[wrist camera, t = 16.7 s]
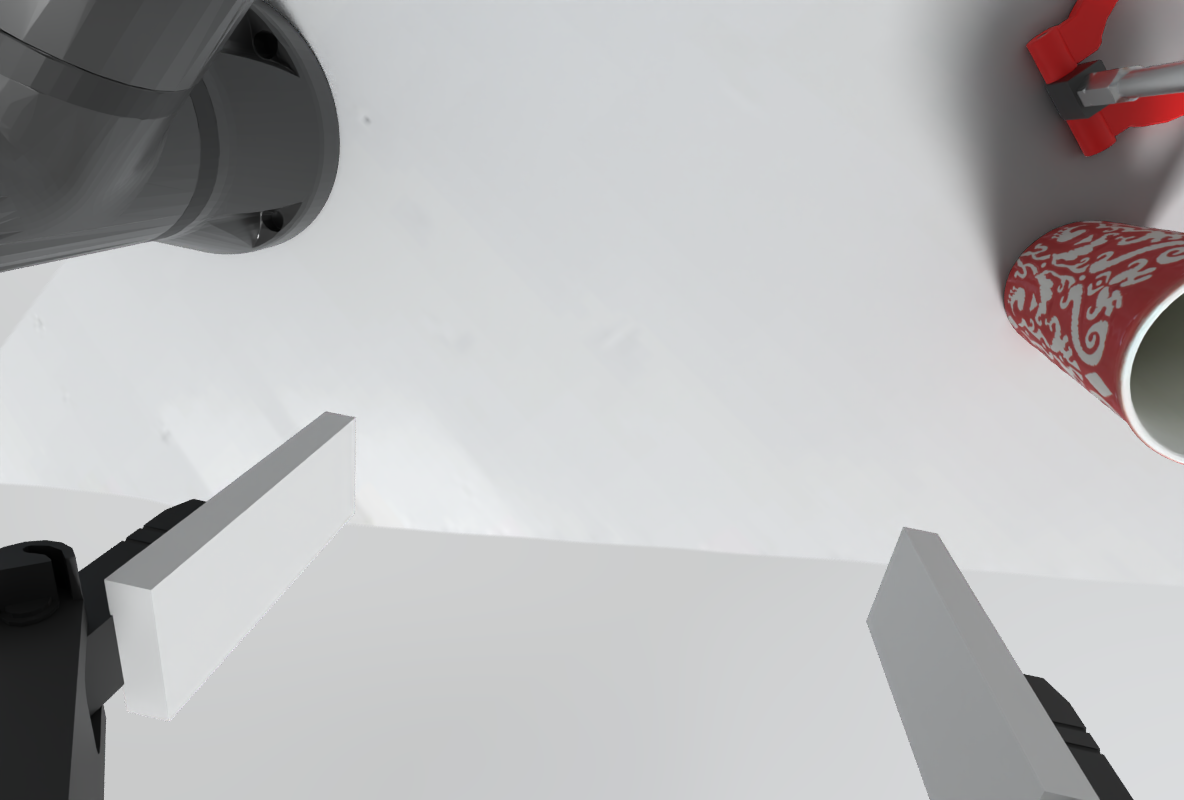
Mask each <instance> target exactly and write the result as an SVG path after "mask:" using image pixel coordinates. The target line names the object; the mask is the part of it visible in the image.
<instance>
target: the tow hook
mask: <svg viewBox="0 0 1184 800" xmlns="http://www.w3.org/2000/svg"><path fill="white" fill-rule="evenodd" d="M1118 1H1119V0H1077V2H1076V4H1075V5H1074V7H1073V9H1072V11H1071V13H1070V15H1069V18H1068V19H1066V20H1065V21H1064V22H1062V23H1061V24H1060V25H1058V26H1054V27H1051V28H1049V29H1047V30H1045V31H1043V32H1042V33H1040V34H1039V35H1037V36H1036V37H1034V38H1033V39H1032V40H1031V41H1030V42H1029V43H1028V44H1027V45H1026V46H1027V48H1028V50H1029V52H1030V54H1031V56H1032V57H1033V59H1034V61H1035V63H1036V65H1037V67H1038V69H1039V71H1040V73H1041V74H1042V76H1043V78H1044V80H1045V82H1046V85H1045V87H1046V89H1047V91H1048V93H1049V95H1050V97H1051V99H1052V101H1053V102H1054V104H1055V106H1056V108H1057V110H1058V112H1059V114H1060V116H1061V117H1062V119H1063V120H1066V122H1067V123H1068V125H1069V127H1070V129H1071V131H1072V133H1073V135H1074V137H1075V138H1076V140H1077V142H1078V144H1079V146H1080V148H1081V150H1082V152H1083V154H1084V155H1085V156H1092V155H1095V154H1097V153H1100V152H1102V151H1104V150H1105V149H1107V148H1109V147H1110V146H1112V145H1113V144H1114V143H1115V142H1116V139H1115V136H1116V135H1118V134H1119V133H1121V132H1122V131H1124V130H1125V129H1127V128H1129V127H1143V126H1149V125H1154V124H1160V123H1165V122H1169V121H1171V120H1173V119H1176V118H1178V117H1180V116H1183V115H1184V60H1183V61H1177V62H1172V63H1166V64H1160V65H1154V66H1149V67H1142V66H1140V65H1137V66H1130V67H1124V68H1118V69H1112V70H1106V68H1105V66H1104V64H1103V62H1102V61H1101V60H1096V61H1091V62H1087V63H1082V64H1078V63H1079V62H1081V61H1082V60H1084V59H1085V58H1087V57H1088V56H1089V55H1091V54H1092V53H1094V52H1095V51H1097V50H1098V48H1099V47H1100V45H1101V43H1102V34H1103V31H1104V28H1105V25H1106V21H1107V19H1108V17H1109V15H1110V13H1111V12H1112V10H1113V8H1114V6H1115V4H1116V3H1117V2H1118Z"/></svg>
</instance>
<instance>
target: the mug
mask: <svg viewBox="0 0 1184 800" xmlns="http://www.w3.org/2000/svg"><path fill="white" fill-rule="evenodd" d="M1004 304H1005V310H1006V313H1007V317H1008V319H1009V321H1010V323H1011V325H1012V326H1013V328H1014V329H1015V330H1016V331H1017V333H1018V334H1020V335H1021V336H1022V337H1023V338H1024V339H1025V340H1027V341H1028V342H1029V343H1030V344H1031V345H1032V346H1034V347H1035V348H1037V349H1038V350H1039V351H1040V352H1042V353H1043V354H1044V355H1045V356H1046V357H1047V358H1048V359H1049V360H1050V361H1051V362H1053V363H1054V364H1056V365H1057V366H1058V367H1059V368H1060V369H1061V370H1063V371H1064V372H1065V373H1067V374H1068V375H1069V376H1071V377H1072V378H1073V379H1075V380H1076V381H1077V382H1078V383H1079V384H1081V385H1082V386H1083V387H1084V388H1085V389H1087V390H1088V391H1089V392H1090V393H1092V394H1093V395H1094V396H1095V397H1096V398H1098V399H1099V400H1100V401H1101V402H1102V403H1104V404H1105V405H1106V406H1107V407H1108V408H1110V409H1111V410H1112V411H1113V412H1115V413H1116V414H1117V415H1119V416H1120V417H1121V418H1122V419H1123V420H1125V421H1126V422H1127V423H1128V425H1129V426H1130V428H1131V429H1132V431H1133V432H1134V433H1135V434H1136V436H1137V437H1138V438H1139V439H1140V440H1141V441H1142V442H1143V443H1144V444H1145V445H1147V446H1148V447H1149V448H1151V449H1152V450H1153V451H1155V452H1157V453H1158V454H1160V455H1162V456H1164V457H1166V458H1168V459H1170V460H1173V461H1175V462H1177V463H1180V464H1183V465H1184V233H1182V232H1176V231H1170V230H1162V229H1156V228H1147V227H1140V226H1133V225H1127V224H1123V223H1114V222H1108V221H1082V222H1075V223H1071V224H1067V225H1064V226H1061V227H1059V228H1056V229H1054V230H1052V231H1050V232H1048V233H1046V234H1045V235H1043V236H1042V237H1040V238H1039V239H1038V240H1036V241H1035V242H1034V243H1033V244H1031V245H1030V246H1029V247H1028V248H1027V249H1026V250H1025V251H1024V252H1023V253H1022V254H1021V256H1020V257H1019V258H1018V260H1017V261H1016V263H1015V264H1014V266H1013V267H1012V269H1011V271H1010V273H1009V276H1008V279H1007V282H1006V286H1005V293H1004Z"/></svg>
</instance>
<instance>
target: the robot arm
mask: <svg viewBox="0 0 1184 800" xmlns="http://www.w3.org/2000/svg"><path fill="white" fill-rule="evenodd" d="M339 150H340V138H339V125H338V118H337V113H336V108H335V104H334V100H333V97H332V93H331V91H330V88H329V85H328V82H327V80H326V78H325V75H324V73H323V71H322V69H321V67H320V65H319V63H318V61H317V59H316V58H315V56H314V54H313V53H312V51H311V50H310V48H309V47H308V45H307V44H306V42H305V41H304V40H303V38H302V37H301V36H300V34H299V33H298V32H297V31H296V30H295V29H294V27H293V26H292V25H291V24H290V23H289V22H288V21H287V20H286V19H285V18H284V17H283V16H282V15H281V14H279V13H278V12H277V11H276V10H275V9H273V8H272V7H271V6H270V5H268V4H267V3H265V2H264V1H262V0H0V272H5V271H10V270H14V269H19V268H24V267H29V266H34V265H39V264H43V263H48V262H53V261H58V260H63V259H68V258H73V257H78V256H82V255H87V254H92V253H97V252H102V251H107V250H112V249H116V248H121V247H126V246H131V245H135V244H140V243H145V242H150V241H156V242H160V243H165V244H170V245H174V246H179V247H183V248H188V249H193V250H197V251H202V252H207V253H214V254H242V253H248V252H253V251H257V250H261V249H264V248H268V247H272V246H275V245H278V244H281V243H283V242H285V241H287V240H290V239H291V238H293V237H295V236H296V235H298V234H299V233H300V232H302V231H303V230H304V229H305V228H306V227H308V226H309V225H310V224H311V223H312V221H313V220H314V219H315V218H316V217H317V215H318V214H319V213H320V211H321V210H322V208H323V207H324V205H325V203H326V201H327V199H328V197H329V195H330V193H331V190H332V187H333V184H334V181H335V177H336V174H337V168H338V162H339ZM355 445H356V417H351V416H346V415H341V414H336V413H331V412H324V413H323V414H322V415H321V416H319V417H318V418H317V419H315V420H314V421H313V422H311V423H310V424H309V425H307V426H306V427H305V428H303V429H302V430H301V431H299V432H298V433H297V434H295V435H294V436H293V437H292V438H290V439H289V440H288V441H286V442H285V443H284V444H282V445H281V446H280V447H278V448H277V449H276V450H274V451H273V452H272V453H270V454H269V455H268V456H266V457H265V458H264V459H263V460H261V461H260V462H259V463H257V464H256V465H255V466H253V467H252V468H251V469H249V470H248V471H247V472H245V473H244V474H243V475H241V476H240V477H239V478H237V479H236V480H235V481H234V482H232V483H231V484H230V485H228V486H227V487H226V488H224V489H223V490H222V491H220V492H219V493H218V494H216V495H215V496H214V497H212V498H211V499H210V500H208V501H207V502H205V501H200V500H196V499H192V500H189V501H187V502H184V503H182V504H179V505H177V506H174V507H172V508H169V509H167V510H165V511H163V512H162V513H160V514H159V515H158V516H156V517H155V518H153V519H152V520H151V521H149V522H148V523H146V524H145V525H144V527H143V529H141V528H140V529H138V530H137V531H135V532H134V533H132V534H131V535H130V536H128V537H127V538H126V541H121V542H120V543H118V544H117V545H116V546H114V547H113V548H111V549H110V550H109V551H107V552H106V553H104V554H103V555H102V556H100V557H99V558H97V559H96V560H95V561H93V562H92V563H91V564H89V565H88V566H86V567H85V568H84V569H82V570H81V571H79V572H78V568H77V563H76V558H75V554H74V552H73V549H72V548H71V547H69V546H67V545H65V544H64V543H61V542H54V541H47V540H43V541H29V542H23V543H18V544H14V545H10V546H7V547H3V548H0V800H104V769H105V733H106V716H105V711H104V706H103V704H104V703H105V702H106V701H107V700H108V699H109V698H110V697H111V696H112V695H113V694H114V693H115V692H116V691H117V690H118V689H120V688H121V687H123V692H124V698H125V704H126V710H127V712H130V713H134V714H138V715H143V716H147V717H151V718H155V719H159V720H163V721H168V722H170V721H171V719H172V718H173V717H174V716H175V715H176V714H177V713H178V712H179V711H180V709H181V708H182V707H183V706H184V705H185V704H186V703H187V701H188V700H189V699H190V698H191V697H192V696H193V695H194V694H195V693H196V691H197V690H198V689H199V688H200V687H201V686H202V685H203V684H204V682H205V681H206V680H207V679H208V678H209V677H210V676H211V675H212V673H213V672H214V671H215V670H216V669H217V668H218V666H220V664H221V663H222V662H223V661H224V660H225V659H226V658H227V657H228V655H229V654H230V653H231V652H232V650H234V649H235V648H236V646H237V645H238V644H239V643H240V642H241V640H242V639H244V637H245V636H246V635H247V634H248V633H249V632H250V631H251V630H252V628H253V627H254V626H255V625H256V624H257V623H258V622H259V621H260V619H261V618H262V617H263V616H264V615H265V614H266V613H267V612H268V610H269V609H270V608H271V607H272V606H273V605H274V604H275V602H276V601H277V600H278V599H279V598H280V597H281V596H282V595H283V593H284V592H285V591H286V590H287V589H288V588H289V587H290V586H291V584H292V583H293V582H294V581H295V580H296V579H297V578H298V577H299V575H300V574H301V573H302V572H303V571H304V570H305V569H306V568H307V566H308V565H309V564H310V563H311V562H312V561H313V560H314V559H315V558H316V556H317V555H318V554H319V553H320V552H321V551H322V550H323V548H324V547H325V546H326V545H327V544H328V543H329V542H330V541H331V540H332V538H333V537H334V536H335V535H336V534H337V533H338V532H339V531H340V529H341V528H342V527H343V526H344V525H345V524H346V523H347V522H348V520H349V519H350V518H351V517H352V516H353V515H354V514H355ZM867 624H868V627H869V630H870V633H871V635H872V638H873V641H874V644H875V647H876V650H877V652H878V655H879V658H880V661H881V664H882V667H883V669H884V672H885V675H886V678H887V681H888V683H889V686H890V689H891V692H892V694H893V697H894V700H895V703H896V706H897V709H898V712H899V714H900V717H901V720H902V723H903V725H904V728H905V731H906V734H907V737H908V740H909V742H910V745H911V748H912V751H913V754H914V757H915V759H916V762H917V765H918V768H919V770H920V773H921V776H922V779H923V782H924V785H925V787H926V790H927V793H928V796H929V799H930V800H1133V798H1132V797H1131V796H1130V794H1129V792H1128V791H1127V789H1126V788H1125V786H1124V785H1123V783H1122V782H1121V780H1120V779H1119V777H1118V776H1117V774H1116V773H1115V771H1114V770H1113V768H1112V766H1111V765H1110V764H1109V762H1108V760H1107V759H1106V757H1105V756H1104V755H1103V754H1100V748H1099V747H1098V745H1097V744H1096V742H1095V741H1094V740H1093V738H1092V736H1091V735H1090V733H1086V727H1085V726H1084V724H1083V723H1082V721H1081V720H1080V718H1079V717H1078V715H1077V714H1076V712H1075V711H1074V709H1073V707H1072V706H1071V704H1070V703H1069V702H1068V701H1067V700H1066V699H1065V698H1064V697H1062V695H1060V694H1059V693H1058V692H1057V691H1056V690H1055V689H1054V688H1053V687H1052V686H1051V685H1050V684H1049V683H1048V682H1047V681H1046V680H1045V679H1043V678H1040V677H1034V676H1030V675H1025V674H1023V673H1022V671H1021V670H1020V668H1019V667H1018V665H1017V663H1016V662H1015V660H1014V658H1013V657H1012V655H1011V654H1010V652H1009V650H1008V649H1007V647H1006V645H1005V644H1004V642H1003V640H1002V639H1001V637H1000V636H999V634H998V632H997V630H996V629H995V627H994V626H993V624H992V623H991V621H990V619H989V617H988V616H987V614H986V613H985V611H984V609H983V608H982V606H981V604H980V603H979V601H978V599H977V598H976V596H975V595H974V593H973V591H972V590H971V588H970V586H969V585H968V583H967V581H966V580H965V578H964V576H963V575H962V573H961V572H960V570H959V568H958V567H957V565H956V563H955V562H954V560H953V558H952V557H951V555H950V554H949V552H948V550H947V549H946V547H945V545H944V544H943V542H942V540H941V539H940V537H939V536H938V534H936V533H931V532H926V531H921V530H916V529H911V528H906V527H903V529H902V531H901V534H900V537H899V539H898V542H897V544H896V547H895V549H894V552H893V554H892V557H891V559H890V562H889V565H888V567H887V570H886V572H885V575H884V577H883V580H882V582H881V585H880V588H879V590H878V593H877V595H876V598H875V600H874V603H873V606H872V608H871V611H870V613H869V616H868V618H867Z"/></svg>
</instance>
